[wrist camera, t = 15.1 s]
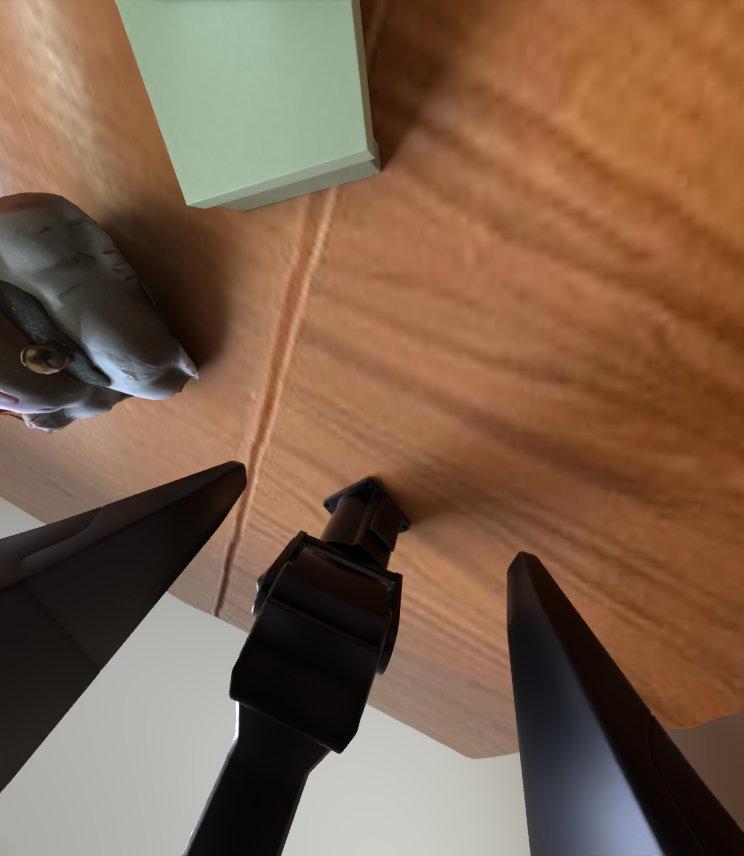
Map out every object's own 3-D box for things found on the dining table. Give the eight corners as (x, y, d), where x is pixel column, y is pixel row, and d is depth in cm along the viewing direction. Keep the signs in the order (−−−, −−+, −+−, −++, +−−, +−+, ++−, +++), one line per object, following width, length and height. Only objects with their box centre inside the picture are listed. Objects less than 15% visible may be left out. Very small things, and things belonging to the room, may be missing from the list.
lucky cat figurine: (220, 408, 26) (21, 511, 19) (163, 355, 31) (-12, 419, 24) (125, 205, 15) (-455, 259, 8) (60, 173, 20) (-329, 186, 13)
